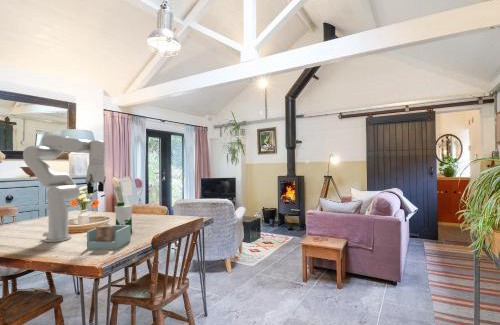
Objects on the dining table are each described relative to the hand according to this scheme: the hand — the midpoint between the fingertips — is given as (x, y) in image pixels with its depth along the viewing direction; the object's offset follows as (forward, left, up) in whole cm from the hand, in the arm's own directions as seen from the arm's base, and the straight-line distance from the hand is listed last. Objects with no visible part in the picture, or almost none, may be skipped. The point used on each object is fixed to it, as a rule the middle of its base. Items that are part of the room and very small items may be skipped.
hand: (95, 192), depth 152 cm
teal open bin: (+10, -4, -28) cm, 30 cm away
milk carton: (+7, +18, -29) cm, 35 cm away
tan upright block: (+10, -8, -27) cm, 30 cm away
